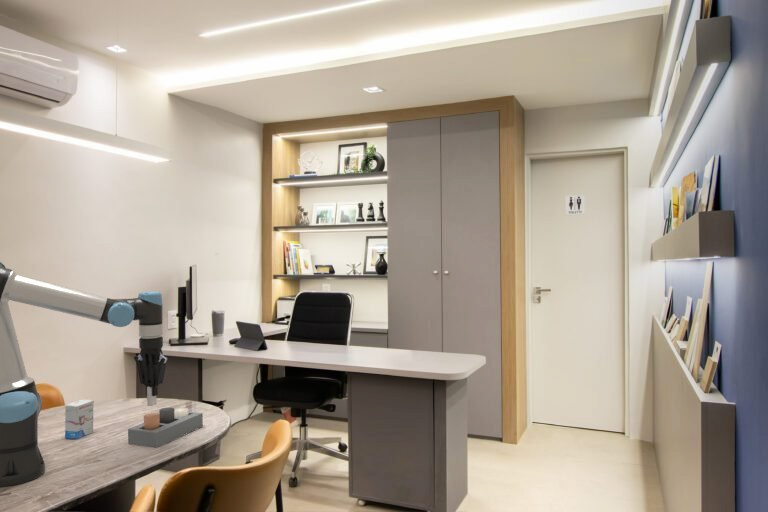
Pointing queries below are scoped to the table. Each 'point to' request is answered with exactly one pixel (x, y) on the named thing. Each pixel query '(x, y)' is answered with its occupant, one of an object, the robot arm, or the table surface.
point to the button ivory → (181, 412)
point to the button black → (166, 415)
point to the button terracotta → (151, 421)
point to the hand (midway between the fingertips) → (151, 404)
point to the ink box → (79, 419)
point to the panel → (164, 431)
